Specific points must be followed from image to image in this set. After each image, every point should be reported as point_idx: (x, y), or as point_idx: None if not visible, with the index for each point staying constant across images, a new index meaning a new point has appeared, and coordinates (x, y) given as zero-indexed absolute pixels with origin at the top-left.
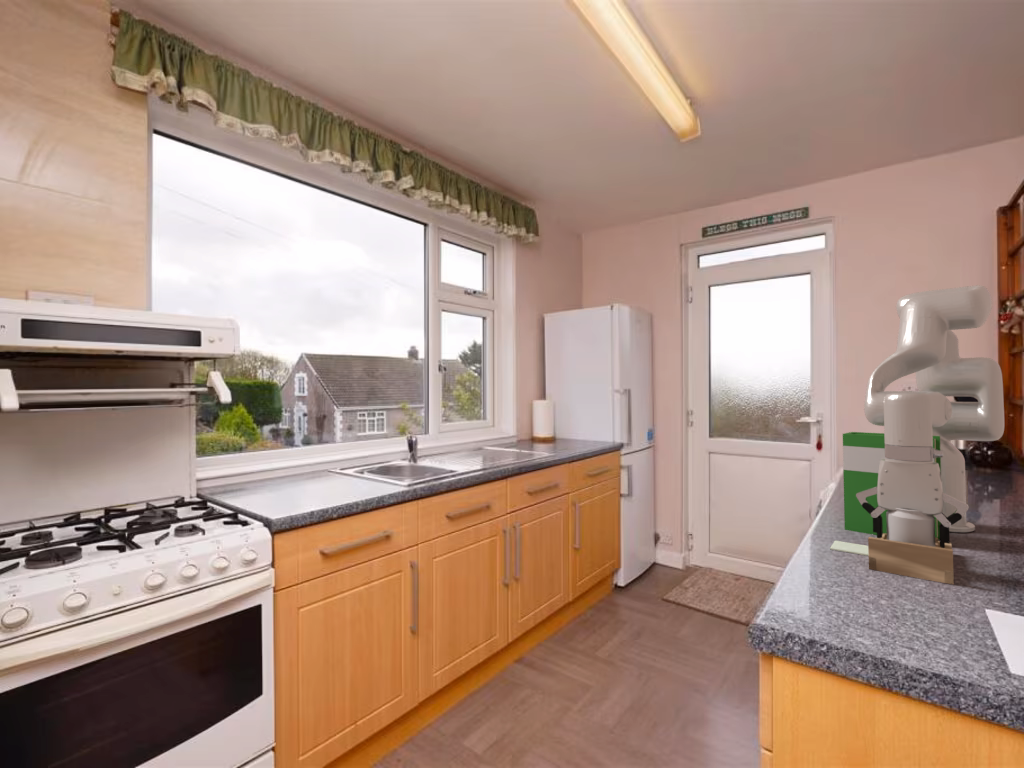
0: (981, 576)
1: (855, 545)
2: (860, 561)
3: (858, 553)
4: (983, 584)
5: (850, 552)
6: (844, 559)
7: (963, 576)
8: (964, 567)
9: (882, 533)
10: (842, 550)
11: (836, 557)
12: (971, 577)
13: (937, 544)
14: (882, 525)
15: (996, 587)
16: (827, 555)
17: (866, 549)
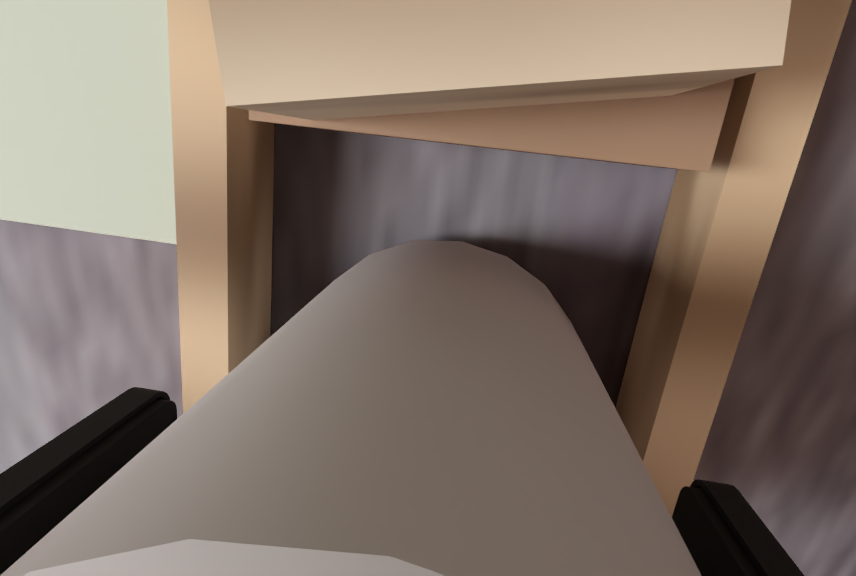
0: (841, 357)
1: (76, 12)
2: (177, 393)
3: (137, 238)
4: (780, 512)
5: (92, 228)
6: (98, 397)
7: (716, 411)
8: (807, 179)
9: (163, 420)
10: (40, 224)
11: (54, 378)
12: (761, 409)
13: (704, 164)
14: (90, 457)
15: (835, 533)
16: (5, 363)
17: (164, 101)
